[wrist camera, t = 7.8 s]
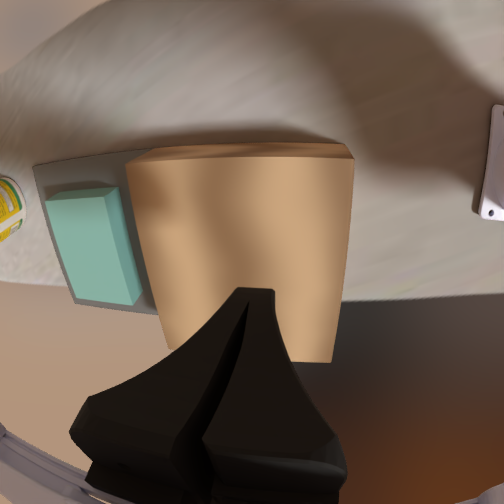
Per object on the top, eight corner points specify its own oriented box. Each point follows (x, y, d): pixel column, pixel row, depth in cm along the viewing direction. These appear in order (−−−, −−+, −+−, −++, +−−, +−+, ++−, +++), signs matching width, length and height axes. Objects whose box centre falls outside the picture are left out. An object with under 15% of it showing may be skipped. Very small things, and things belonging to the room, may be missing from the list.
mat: (155, 148, 20) (153, 149, 19) (184, 315, 27) (183, 318, 26) (34, 165, 22) (32, 166, 21) (76, 301, 28) (74, 303, 28)
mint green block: (44, 201, 20) (60, 191, 22) (76, 297, 25) (87, 285, 26) (103, 196, 19) (118, 186, 21) (132, 305, 24) (143, 290, 26)
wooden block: (344, 144, 18) (354, 159, 14) (329, 325, 25) (330, 362, 21) (155, 148, 20) (124, 163, 16) (184, 315, 27) (168, 349, 23)
